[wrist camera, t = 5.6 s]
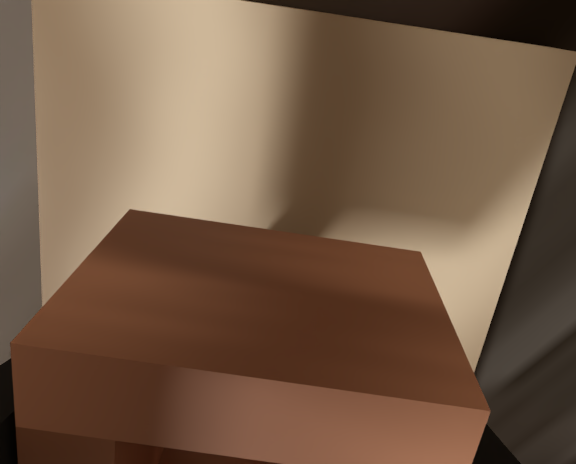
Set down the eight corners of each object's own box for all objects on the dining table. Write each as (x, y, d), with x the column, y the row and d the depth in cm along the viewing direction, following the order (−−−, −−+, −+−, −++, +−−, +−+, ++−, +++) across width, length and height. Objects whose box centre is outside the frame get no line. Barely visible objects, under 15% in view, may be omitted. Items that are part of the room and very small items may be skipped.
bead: (122, 437, 11) (29, 648, 8) (129, 208, 9) (10, 343, 6) (364, 470, 11) (389, 696, 8) (420, 251, 9) (491, 411, 6)
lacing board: (66, 379, 18) (-58, 569, 12) (60, -28, 13) (-149, -55, 7) (433, 430, 18) (494, 643, 12) (551, 47, 13) (747, 82, 7)
